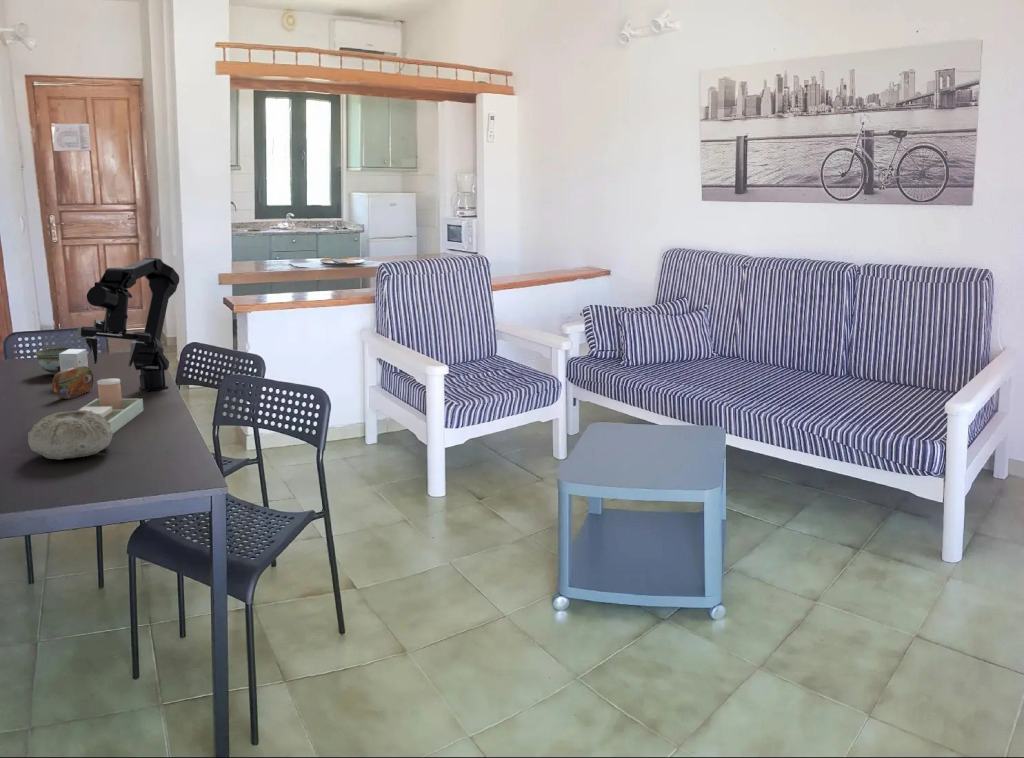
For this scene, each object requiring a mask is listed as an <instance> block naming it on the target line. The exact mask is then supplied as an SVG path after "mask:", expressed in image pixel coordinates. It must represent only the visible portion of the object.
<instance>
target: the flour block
mask: <svg viewBox="0 0 1024 758" xmlns="http://www.w3.org/2000/svg"><path fill="white" fill-rule="evenodd" d="M82 407H83V408H82ZM82 407H81V408H82V409H81V408H79V409H80V410H87V411H92V412H93V413H96V414H99V415H100V416H102V417H103V418H104V419H106V420H107V421H109V420H110V419H112V418H113V410H112V407H84V406H82Z"/></svg>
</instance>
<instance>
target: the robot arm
mask: <svg viewBox="0 0 1024 758" xmlns="http://www.w3.org/2000/svg"><path fill="white" fill-rule="evenodd" d="M143 277H145V278H146V279H147V281H148V286H149V289H150V292H151V299H150V303H149V304H150V305H149V309H148V314H147V317H146V324H145V327H144V330H143V331H144V332H141V331H136V332H132V333H127V331H128V330H127V322H128V319H129V318H128V316H129V315H128V309H129V307H128V306H129V299H132V298H133V295H132V294H131V293H130V291H129V289H131V288H133V286H135V285H136V284H137V280H138V279H141V278H143ZM179 283H180V276H179V274H178V273H177V272H176V270H175V269H174V268H173V266H170V265H168V264H166V263H165V262H163V260H162V259H161V258H158V257H145V258H142V259H141V260H139V261H137V262H134V263H131V264H129V265H127V266H123V267H119V266H118V267H107V268H106V269H105V271H104V273H103V275H102V277H101V278H100V280H99V281H98V282H97V281H95V282H94V286H92V287H91V288H89V290H88V291H87V293H86V300H87V302H88V304H90V305H91V306H92V307H98V308H102V309H105V313H104V319H103V320H101V319H94V321H93V327H90V326H81V327H78V329H77V332H76V338H81V340H82V341H83V342H85V343H86V344H87V347H88V348H89V352H90V355H91V357H92V361H93V364H94V365H96V364H97V363H98V362H97V361H98V338H103V339H104V338H107V339H117V340H118V339H119V340H128V341H132V342H131V343H130V352H129V358H128V367H131V366H132V365H134V369H135V370H136V371H140V374H139V387H138V388H139V389H140V390H144V391H147V392H153V391H158V390H163V389H168V388H169V386H168V385H166V375H165V371H167V370H168V369H169V368H170V360H169V359H168V358H167V357H166V356H165V354H164V349H165V348H164V346H163V345H162V342H161V339H162V337H161V336H162V332H163V327H164V324H165V323H164V322H165V318H166V313H167V309H168V304H169V300H170V298H171V297H172V296H173V295H174V294H175V293H176V291H177V288H178V285H179ZM96 337H97V338H96Z"/></svg>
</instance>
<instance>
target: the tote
mask: <svg viewBox="0 0 1024 758" xmlns="http://www.w3.org/2000/svg"><path fill="white" fill-rule="evenodd" d="M83 407H100V404H99V398H95V399H93V400H91V402H89V403H87V404H86V405H83V406H82V407H80V408H79V409H78V410H80V409H82V408H83ZM122 407H123V410H113V418H112V419H110V420H109V421H108V422H110V426H111V428H112V431H113V434H114V433H116V432H118V431H119V430H120V429H121V428H122V427H124V426H125V425H127V424H128V423H129V422H130V421H132V420H133V419H134V418H136V417H137V416H139V414H140V413H142V412H144V400H143V398H122Z"/></svg>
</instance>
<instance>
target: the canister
mask: <svg viewBox="0 0 1024 758" xmlns="http://www.w3.org/2000/svg"><path fill="white" fill-rule="evenodd" d="M96 384H97V391H98V399H99V404H100V407H112V410H123V407H122V399H123V398H122V387H121V386H122V385H121V379H120V378H117V377H116V378H114V377H112V378H102V379H98V380H96Z"/></svg>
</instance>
